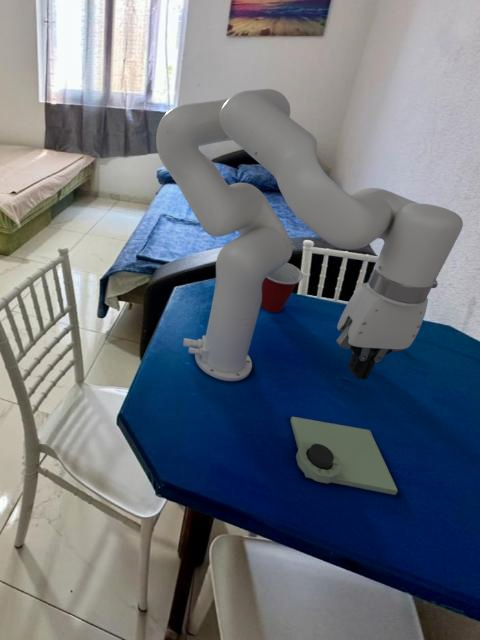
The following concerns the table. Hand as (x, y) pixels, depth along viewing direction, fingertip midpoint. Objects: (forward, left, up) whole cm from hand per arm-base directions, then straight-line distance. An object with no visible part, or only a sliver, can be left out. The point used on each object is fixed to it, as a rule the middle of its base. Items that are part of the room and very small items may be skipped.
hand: (357, 373), depth 71 cm
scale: (0, -5, -15) cm, 16 cm away
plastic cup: (-4, +41, -15) cm, 44 cm away
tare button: (-5, -9, -12) cm, 16 cm away
